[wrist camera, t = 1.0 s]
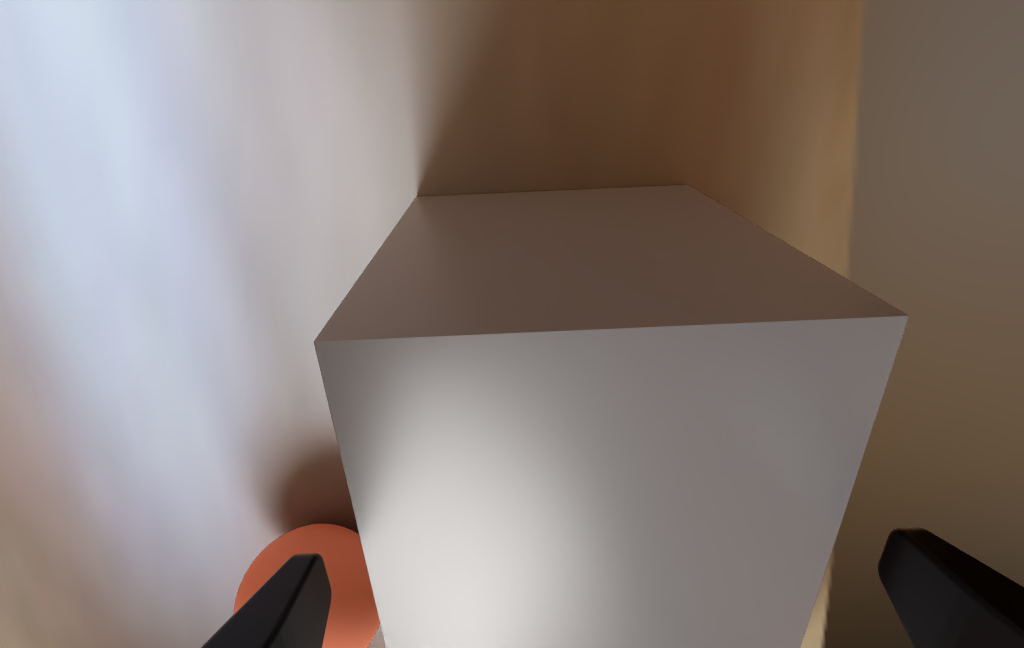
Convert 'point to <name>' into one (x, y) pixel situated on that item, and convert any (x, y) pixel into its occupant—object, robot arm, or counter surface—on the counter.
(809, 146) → the counter surface
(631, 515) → the grey rectangular box
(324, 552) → the ball
